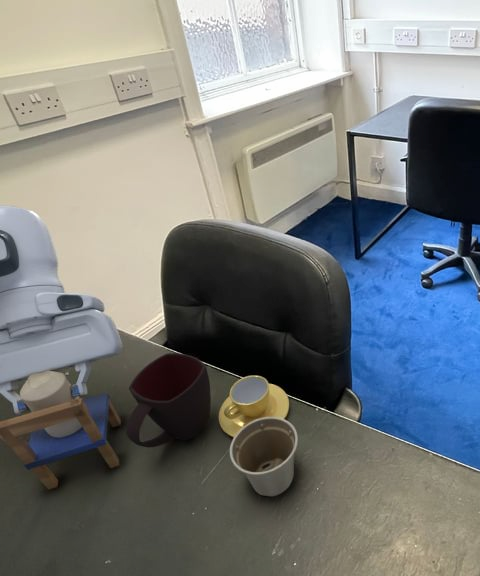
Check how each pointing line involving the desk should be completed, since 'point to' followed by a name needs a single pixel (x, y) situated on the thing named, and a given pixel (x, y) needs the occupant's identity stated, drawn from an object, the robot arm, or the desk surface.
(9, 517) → the desk surface
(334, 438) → the desk surface
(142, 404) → the mug
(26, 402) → the candle
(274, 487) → the flower pot
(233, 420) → the cup
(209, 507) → the desk surface
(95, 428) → the chair
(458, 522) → the desk surface
